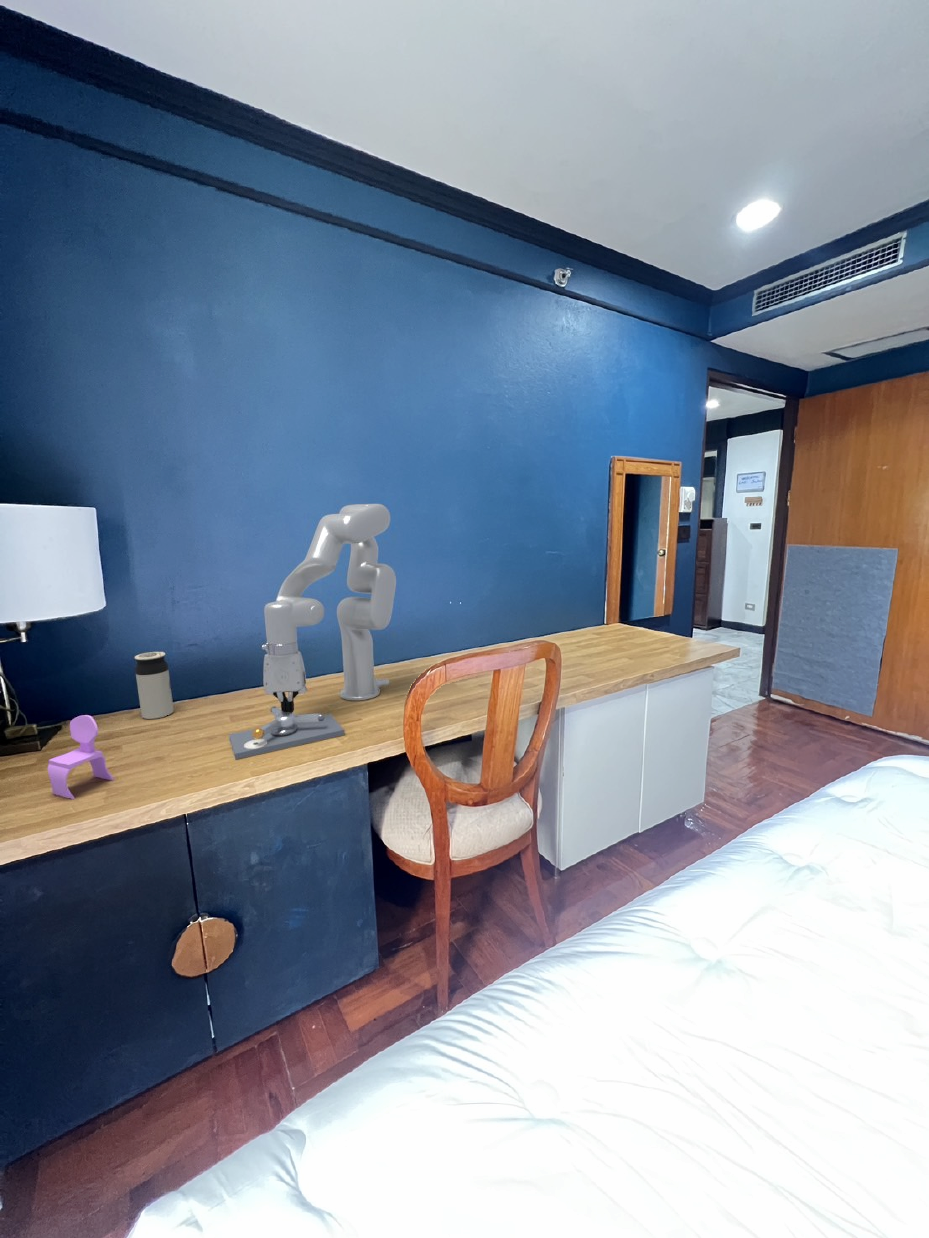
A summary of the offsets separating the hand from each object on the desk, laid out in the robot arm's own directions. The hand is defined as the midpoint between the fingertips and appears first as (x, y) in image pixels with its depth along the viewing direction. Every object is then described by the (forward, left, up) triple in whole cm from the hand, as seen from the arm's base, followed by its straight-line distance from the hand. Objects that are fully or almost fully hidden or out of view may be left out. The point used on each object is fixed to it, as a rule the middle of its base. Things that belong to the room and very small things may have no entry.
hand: (288, 713), depth 135 cm
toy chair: (+44, +10, -4) cm, 45 cm away
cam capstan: (+4, +8, -2) cm, 9 cm away
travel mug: (+31, -30, -4) cm, 43 cm away
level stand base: (+2, +7, -4) cm, 9 cm away
